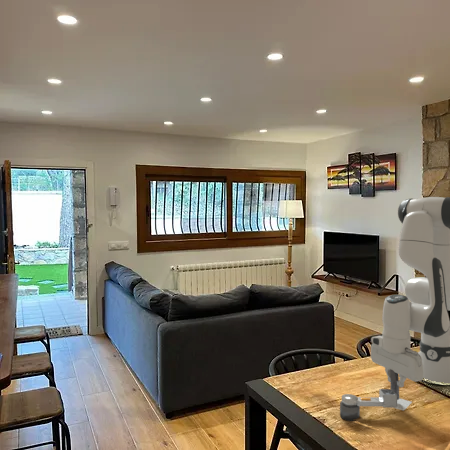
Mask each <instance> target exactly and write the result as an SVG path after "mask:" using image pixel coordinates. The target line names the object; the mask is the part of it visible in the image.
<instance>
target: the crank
mask: <svg viewBox="0 0 450 450" xmlns="http://www.w3.org/2000/svg"><path fill="white" fill-rule="evenodd" d="M378 391H379V392H378V394H379V395H378V397H374V396H373V397H372V396H371V397H370V396H368V397H367V396H365V397H364V396H356V395H354V394H352V393H351V394H350V393H345V394H342V395H341V401H342V404H343V405H344V406H346V407H357V406H360V407H383V408H385V409H386V408H394V409H396V408H397V394H396V393H395V392H394V390H393V389H391V388H389V389H388V388H387V389H385V388H380V389H379V390H378Z"/></svg>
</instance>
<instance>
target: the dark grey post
mask: <svg viewBox="0 0 450 450" xmlns="http://www.w3.org/2000/svg"><path fill="white" fill-rule="evenodd" d="M399 380H400V377H399V374H397V373H395V372H394V371H393V370H391V369H390V382H389V383H390V389H393V390H394V392H395V393H396V394H397V400H398V399H399V398H400V387H399V386H397V381H399Z"/></svg>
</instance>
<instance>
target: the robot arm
mask: <svg viewBox="0 0 450 450" xmlns="http://www.w3.org/2000/svg"><path fill="white" fill-rule="evenodd" d="M397 217H398V219H399V221H400V223H401V228H400V234H399V240H398V256H399V258H400V259H401V261H402V262H403V264H406V265H407V266H408V267H410V268H411V269H414V270H416V271H418V272H420V273H421V274H423V275H424V276H425V277H424V276H421V277H420V276H419V277H412V278H410V279H409V280H408V281H406V284H405V285H404V286H405V287H404V292H405V293H404V294H405V295H402V294H391V295H388V296H386V297H385V298H384V301H383V307H382V315H381V316H382V319H381V320H382V324H383V329H382V332H381V335H376V336H372V337H371V338H370V341H371V343H372V344H371V347H370V360H371V362H372V363H374V364H377V365H378V366H381V367H383V368H384V371H385V373H386V376H387V381H388V382H389V383H391V382H390V369H391V370H393V371H394V372H395V373H397V374H398V376H399V381H397V386H399V388H403V387H404V386H405V382H406V380H407V379H408V380H410V381H412V382H420V381H422V379H423V378H425V379H428V380H431V381H436V382H444V383H450V316H449V315H450V314H449V311H450V197H449V196H446V197H442V196H441V197H440V196H428V197H418V198H408V199H403V200H402V201H401V202H400V204H399V206H398V208H397ZM410 331H411V332H416V333H420V341H419V351H416V350H412V349H411V332H410Z"/></svg>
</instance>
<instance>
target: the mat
mask: <svg viewBox="0 0 450 450" xmlns="http://www.w3.org/2000/svg"><path fill="white" fill-rule="evenodd" d="M412 403H413V401H410V400H406V399H403V398H400V397H399V399H398V400H397V408H395V409H396V410H400V411H403V412H404V411H405V410H406V409H407V408H408V407H409V406H410V405H411V404H412Z"/></svg>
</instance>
